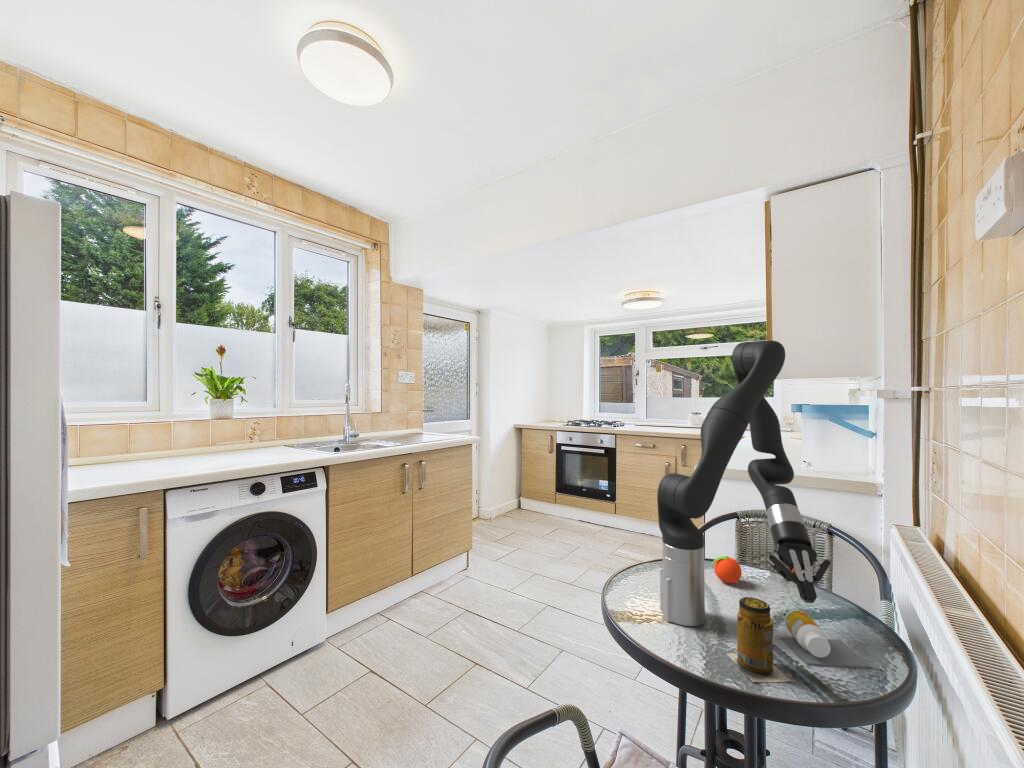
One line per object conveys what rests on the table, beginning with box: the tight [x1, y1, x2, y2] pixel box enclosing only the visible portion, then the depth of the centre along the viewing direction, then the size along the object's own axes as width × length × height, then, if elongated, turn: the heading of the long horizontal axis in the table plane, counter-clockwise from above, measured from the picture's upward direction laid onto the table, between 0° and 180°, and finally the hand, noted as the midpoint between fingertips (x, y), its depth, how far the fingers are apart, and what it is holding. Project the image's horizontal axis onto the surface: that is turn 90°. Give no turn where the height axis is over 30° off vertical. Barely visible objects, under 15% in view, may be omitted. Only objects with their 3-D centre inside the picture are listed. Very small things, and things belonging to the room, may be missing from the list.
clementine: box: [710, 556, 742, 584], centre depth 118 cm, size 8×7×7 cm
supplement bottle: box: [784, 609, 831, 658], centre depth 87 cm, size 5×5×10 cm
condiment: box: [726, 596, 791, 684], centre depth 81 cm, size 7×8×12 cm
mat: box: [780, 636, 873, 669], centre depth 85 cm, size 12×9×1 cm
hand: (810, 601), depth 91 cm, fingers closed
